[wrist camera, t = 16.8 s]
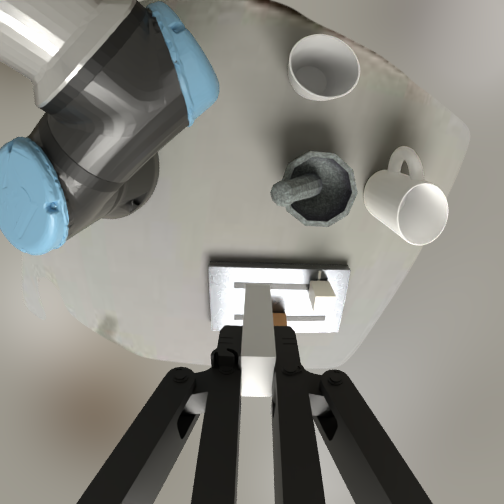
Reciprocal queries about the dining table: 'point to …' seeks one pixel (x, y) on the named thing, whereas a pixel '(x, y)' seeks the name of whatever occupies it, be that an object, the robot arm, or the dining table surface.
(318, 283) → the fader
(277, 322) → the fader
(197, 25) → the dining table surface
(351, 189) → the mortar and pestle
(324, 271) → the console
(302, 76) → the cup
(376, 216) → the mug
